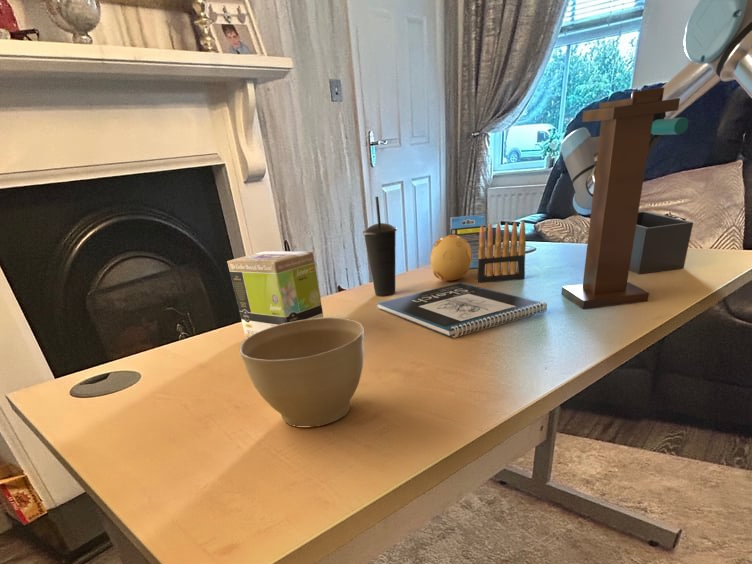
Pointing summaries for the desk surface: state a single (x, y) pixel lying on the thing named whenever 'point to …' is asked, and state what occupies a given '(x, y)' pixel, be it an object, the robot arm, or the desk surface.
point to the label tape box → (469, 233)
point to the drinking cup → (382, 255)
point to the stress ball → (451, 258)
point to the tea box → (275, 288)
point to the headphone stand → (617, 198)
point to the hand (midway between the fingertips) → (657, 110)
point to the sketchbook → (461, 308)
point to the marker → (669, 126)
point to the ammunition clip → (510, 263)
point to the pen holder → (659, 243)
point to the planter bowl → (307, 367)
